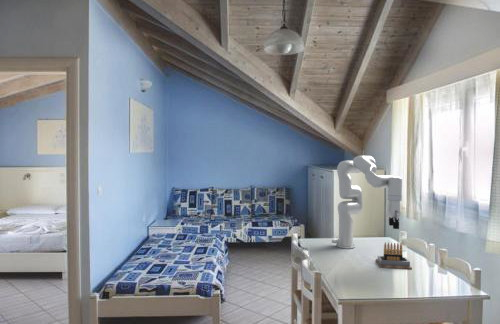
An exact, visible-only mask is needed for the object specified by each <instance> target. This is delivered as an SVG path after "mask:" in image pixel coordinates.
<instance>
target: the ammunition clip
mask: <svg viewBox="0 0 500 324" xmlns="http://www.w3.org/2000/svg"><path fill="white" fill-rule="evenodd" d="M403 257H404V256H403V244H402V242H401V243H400V244H399V242H397V244H396V242H394V243H392V242H391V243H390V242H386V241H385V242H384V246H383V260H394V261H403Z"/></svg>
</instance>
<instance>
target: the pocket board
mask: <svg viewBox="0 0 500 324" xmlns="http://www.w3.org/2000/svg"><path fill="white" fill-rule="evenodd" d="M375 262H376V263H377V264H378V266H379V268H382V269H383V268H384V269H398V270H399V269H402V270H403V269H404V270H412V269H413V267H412V266H411V261H410V260H409V259H408V258H407V257H404V256H403V261H394V260H383V256H382V255H377V258H375Z"/></svg>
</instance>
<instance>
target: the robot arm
mask: <svg viewBox="0 0 500 324" xmlns="http://www.w3.org/2000/svg"><path fill="white" fill-rule="evenodd" d="M377 170H378V169H377V166H376V160H375V159H374V157H373V156H371V155H357V156H355V157H354V158H353V160H351V159H350V160H348V159H347V160H342V161H340V162H339V163H338V165H337V167H336V172H337V173H336V174H337V176H338V189H339V190H338V192H339V193H338V194H339V197H340V198H341V199H343V201H340V202H339V203H338V205H337V212H338V238H337V239H336V240H335V239H331V243H333V244H335V246H336V247H337V248H340V249H348V250H349V249H355V247H356V246H355V244H354V240H353V239H354V220H353V217H352V216H353V215H359V214H361V213H362V212H363V191H362V189H361V187H360V186H359V185H355V184H352V177H351V175H350V174H354V173H355V174H356V173H360V174H361V173H363V175H364V177H365V181H366V182H367V183H368V184H370V186H372V187H373V188H375V189H387V201H388V202H387V203H388V204H387V216H388V218H389V219H388V226H392V229H393V230H400V217H401V202H402V201H403V200H402V196H403V195H402V194H403V191H402V190H403V178H402V177H400V176H393V175H383V174H382V175H377V174H376V172H377Z"/></svg>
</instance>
